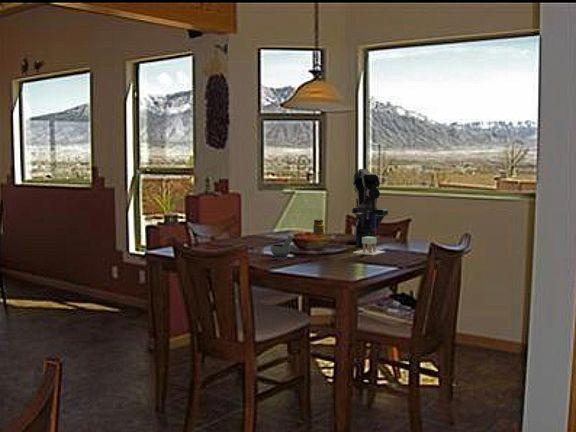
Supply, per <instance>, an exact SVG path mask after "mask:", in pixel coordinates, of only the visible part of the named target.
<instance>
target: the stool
mask: <svg viewBox="0 0 576 432" xmlns="http://www.w3.org/2000/svg"><path fill="white" fill-rule="evenodd" d="M377 240H378V238H377V236H376V237H370V236H367V237H362V243H363V248H362V250H363V252H366V249H367V251H369V253H371V252H372V250H373V252H376V250H377V249H376V248H377ZM366 244H367V248H366Z"/></svg>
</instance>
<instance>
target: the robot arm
mask: <svg viewBox="0 0 576 432" xmlns="http://www.w3.org/2000/svg"><path fill="white" fill-rule="evenodd" d="M352 185H353V188H354V190H355V192H356V193H357V195H356V196H357V198H358V207H356V206H355V207H353V208H352V210H351V213H352V214H354V216H355V217H356V216H357V217H358V221H357V223H356V222H355V227H354V230H353V232H354V233H353V235H354V237H355V238H356V239H355V242H356V243H355V245H354V248H361V249H363V243H362V237H367V236H371V234H372V227H371V225H370V220H369V219H368V218H367V213H376V216H375V217H376V230H378V229H379V227H380V225H381V223H382V221H383V220H384V217H386V216H388V215H389V210H388V208H387V209H386V208H378V207H377V208H376V207H375V205H376V206H377V204H376V202H377V203H378V199H379V198H380V195H381V192H380V190H379V187H380V185H381V183H380V178H379V176H378V174H377V173H375V172H374V173H372V172H370V171H369V169H367V168H359V169H358V171H357V172H356V173H354V174H353V179H352ZM376 199H377V200H376ZM371 211H372V212H371ZM357 233H358V234H357ZM366 249H367V244H366Z"/></svg>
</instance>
